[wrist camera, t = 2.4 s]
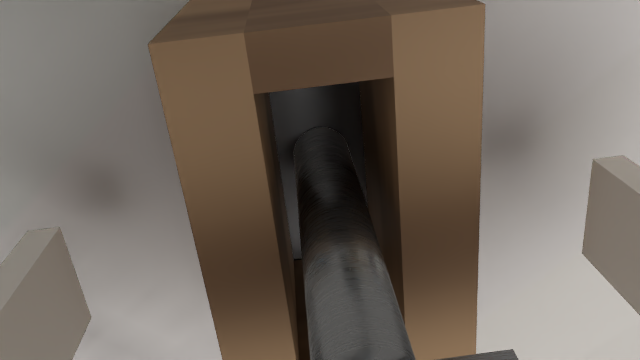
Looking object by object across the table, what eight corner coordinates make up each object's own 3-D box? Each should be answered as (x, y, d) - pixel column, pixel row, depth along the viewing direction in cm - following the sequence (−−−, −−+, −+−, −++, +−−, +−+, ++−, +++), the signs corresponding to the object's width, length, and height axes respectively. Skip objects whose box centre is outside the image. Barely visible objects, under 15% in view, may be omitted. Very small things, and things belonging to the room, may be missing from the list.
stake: (268, 133, 18) (261, 424, 8) (392, 118, 18) (547, 385, 8) (276, 183, 18) (278, 507, 8) (395, 168, 19) (538, 471, 8)
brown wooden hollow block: (191, -1, 16) (147, 44, 10) (413, -27, 16) (485, 4, 11) (256, 332, 21) (250, 475, 16) (422, 310, 21) (473, 445, 16)
